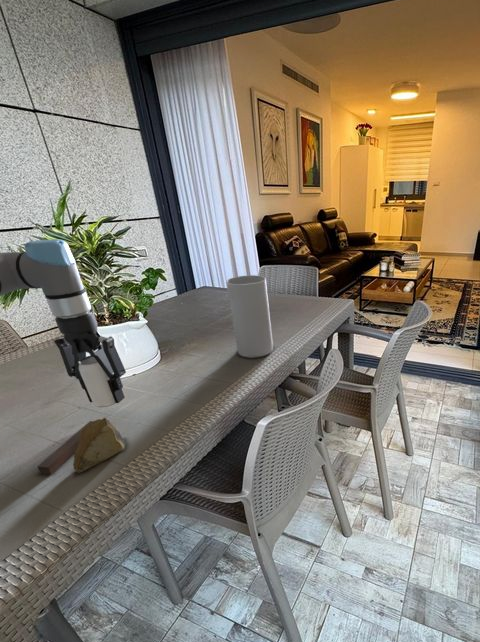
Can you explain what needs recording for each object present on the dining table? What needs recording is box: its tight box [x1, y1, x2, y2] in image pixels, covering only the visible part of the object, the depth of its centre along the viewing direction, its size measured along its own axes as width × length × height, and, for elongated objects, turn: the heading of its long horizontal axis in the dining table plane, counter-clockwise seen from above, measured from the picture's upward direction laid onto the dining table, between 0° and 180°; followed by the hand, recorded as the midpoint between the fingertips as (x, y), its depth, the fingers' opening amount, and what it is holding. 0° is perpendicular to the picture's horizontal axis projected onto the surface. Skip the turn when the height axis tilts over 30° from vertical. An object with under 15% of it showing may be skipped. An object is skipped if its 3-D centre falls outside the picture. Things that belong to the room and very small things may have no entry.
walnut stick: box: [36, 420, 94, 475], centre depth 80 cm, size 16×2×2 cm, turn 173°
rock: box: [72, 417, 126, 474], centre depth 76 cm, size 11×9×10 cm
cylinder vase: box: [225, 274, 274, 359], centre depth 119 cm, size 12×12×25 cm
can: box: [78, 354, 116, 408], centre depth 88 cm, size 6×6×12 cm
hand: (107, 399), depth 90 cm, fingers closed on can, 6 cm apart
